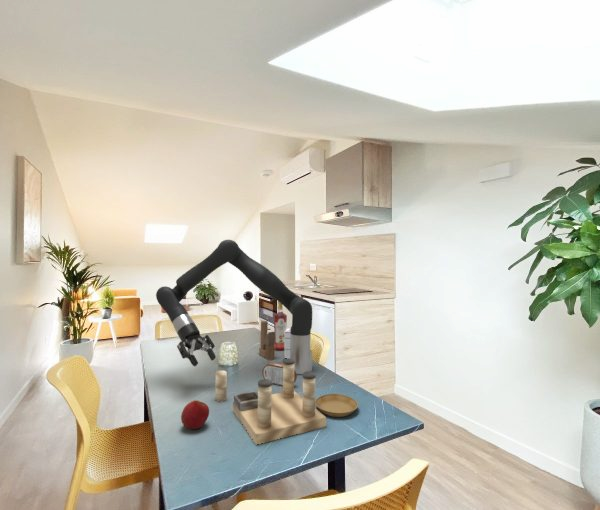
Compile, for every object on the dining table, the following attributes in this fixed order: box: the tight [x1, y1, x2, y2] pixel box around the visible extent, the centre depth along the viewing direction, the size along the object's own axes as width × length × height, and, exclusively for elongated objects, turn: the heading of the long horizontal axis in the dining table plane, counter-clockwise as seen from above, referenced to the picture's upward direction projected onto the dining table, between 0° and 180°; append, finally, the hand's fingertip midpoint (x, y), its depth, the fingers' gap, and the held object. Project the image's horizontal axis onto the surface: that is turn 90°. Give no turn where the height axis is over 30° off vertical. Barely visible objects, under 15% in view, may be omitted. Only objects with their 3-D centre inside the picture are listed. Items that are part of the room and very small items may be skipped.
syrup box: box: [283, 327, 291, 359], centre depth 174 cm, size 6×6×14 cm
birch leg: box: [214, 369, 228, 403], centre depth 123 cm, size 4×4×10 cm
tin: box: [261, 361, 298, 387], centre depth 138 cm, size 15×3×8 cm, turn 65°
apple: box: [180, 399, 210, 430], centre depth 104 cm, size 8×8×8 cm
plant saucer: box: [315, 393, 359, 418], centre depth 117 cm, size 15×15×3 cm
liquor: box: [273, 300, 288, 351], centre depth 189 cm, size 7×7×28 cm
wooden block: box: [258, 320, 276, 361], centre depth 174 cm, size 4×11×18 cm, turn 33°
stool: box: [232, 358, 327, 446], centre depth 110 cm, size 23×23×16 cm
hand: (205, 362), depth 128 cm, fingers open, 8 cm apart
